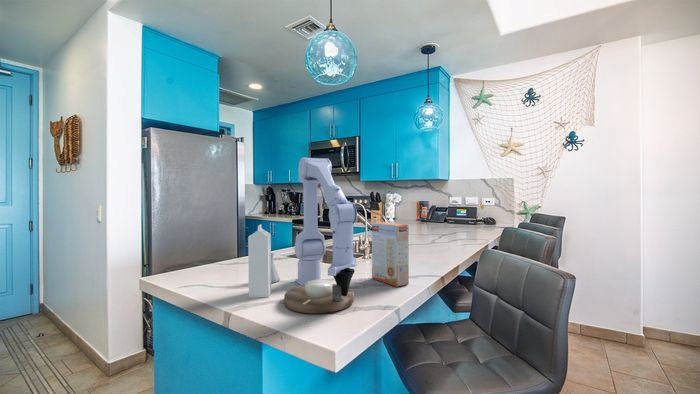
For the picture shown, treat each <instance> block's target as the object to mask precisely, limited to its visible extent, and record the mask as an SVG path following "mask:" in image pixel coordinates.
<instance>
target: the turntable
mask: <svg viewBox="0 0 700 394" xmlns="http://www.w3.org/2000/svg"><path fill="white" fill-rule="evenodd" d="M332 290H333V294H332V295H331V296H328V297H324V298H311V297H308V296H306V295H305V285H303V286H301V285H299V286H296V287H293V288H290V289H289V290H287V291H285V293H284V297H283V298H284V306H285V307H286V308H288V309H289V310H291V311H295V312H297V313H304V314H325V313H332V312H337V311H341V310H343V309H347V308H348V307H349V306H351V305H352V304H353V303H354V291H353V290H352V289H351V288H350V287H349V289H348V294H347V296H341V286H340V285H337V284H336V283H333V286H332Z"/></svg>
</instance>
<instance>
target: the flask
mask: <svg viewBox="0 0 700 394" xmlns="http://www.w3.org/2000/svg"><path fill="white" fill-rule="evenodd" d="M274 256H275V253H273V252H271V284H274V283H277V282H279V281H280V280H281V278H280V276H279V275H280V274H279V272H278V270H277V267H276V264H275V261H274Z"/></svg>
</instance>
